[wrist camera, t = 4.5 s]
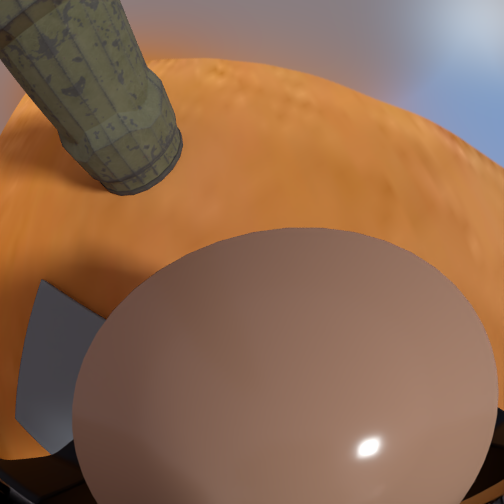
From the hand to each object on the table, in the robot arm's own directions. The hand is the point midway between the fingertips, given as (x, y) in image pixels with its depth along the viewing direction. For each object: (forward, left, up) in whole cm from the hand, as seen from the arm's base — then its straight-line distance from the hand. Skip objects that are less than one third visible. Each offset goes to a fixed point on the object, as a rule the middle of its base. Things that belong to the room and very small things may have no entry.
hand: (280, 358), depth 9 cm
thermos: (+11, +17, -8) cm, 22 cm away
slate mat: (-11, +13, -8) cm, 19 cm away
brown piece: (-1, -1, -7) cm, 7 cm away
